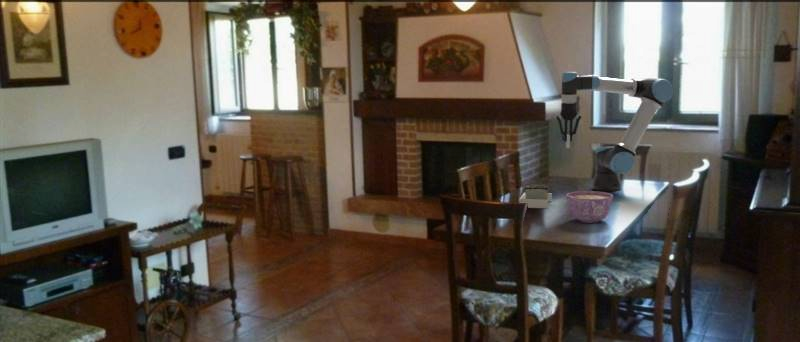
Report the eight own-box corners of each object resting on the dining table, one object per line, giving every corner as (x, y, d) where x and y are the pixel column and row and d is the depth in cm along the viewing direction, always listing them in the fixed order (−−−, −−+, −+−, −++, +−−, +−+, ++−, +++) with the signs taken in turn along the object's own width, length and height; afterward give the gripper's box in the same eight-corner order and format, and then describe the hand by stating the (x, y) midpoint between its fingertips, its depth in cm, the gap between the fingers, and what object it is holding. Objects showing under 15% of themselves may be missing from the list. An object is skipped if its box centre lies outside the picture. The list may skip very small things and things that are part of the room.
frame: (551, 201, 375) (551, 193, 374) (548, 208, 358) (548, 200, 357) (524, 200, 379) (524, 192, 378) (519, 207, 362) (519, 199, 361)
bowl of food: (605, 227, 315) (605, 200, 313) (559, 223, 325) (559, 197, 323) (618, 218, 331) (619, 192, 330) (574, 214, 342) (575, 189, 340)
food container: (550, 204, 367) (550, 184, 365) (549, 206, 361) (549, 186, 359) (524, 203, 370) (524, 183, 369) (523, 206, 364) (523, 186, 363)
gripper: (580, 101, 385) (579, 146, 390) (555, 101, 386) (554, 146, 391) (583, 103, 378) (581, 148, 383) (556, 103, 379) (556, 149, 384)
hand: (567, 147), depth 387 cm, fingers closed
